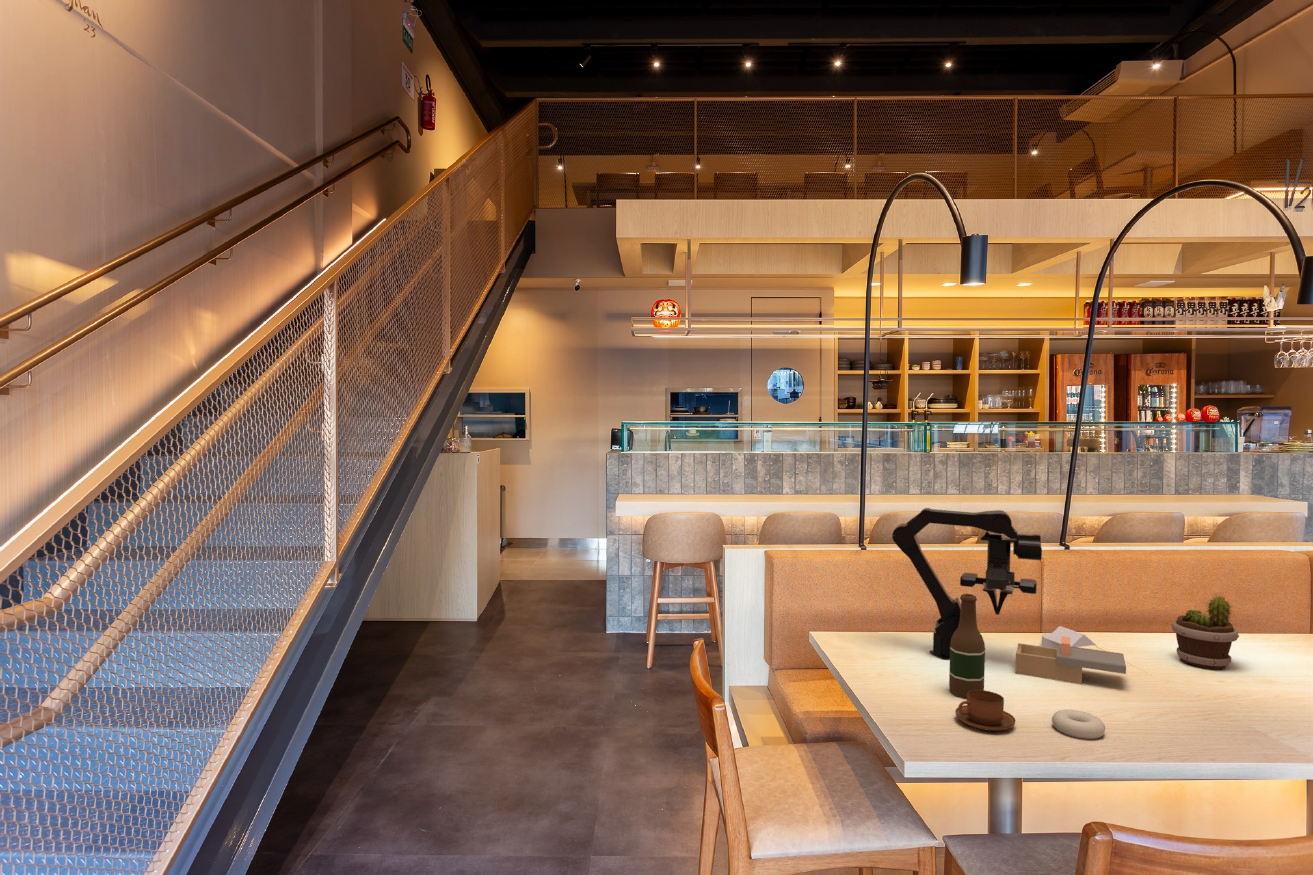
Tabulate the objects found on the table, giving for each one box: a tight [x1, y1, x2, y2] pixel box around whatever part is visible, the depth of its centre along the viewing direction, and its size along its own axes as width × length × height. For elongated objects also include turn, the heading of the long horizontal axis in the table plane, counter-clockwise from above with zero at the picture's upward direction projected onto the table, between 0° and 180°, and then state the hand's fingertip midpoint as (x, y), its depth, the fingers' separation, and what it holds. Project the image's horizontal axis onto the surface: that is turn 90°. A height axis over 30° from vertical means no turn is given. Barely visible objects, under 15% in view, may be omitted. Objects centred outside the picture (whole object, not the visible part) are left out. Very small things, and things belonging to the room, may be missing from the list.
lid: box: [1056, 636, 1127, 675], centre depth 191 cm, size 15×12×5 cm
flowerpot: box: [1170, 591, 1240, 670], centre depth 204 cm, size 14×15×20 cm
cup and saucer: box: [955, 689, 1016, 732], centre depth 163 cm, size 12×12×6 cm
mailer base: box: [1015, 642, 1083, 685], centre depth 196 cm, size 15×10×5 cm, turn 61°
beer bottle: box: [948, 593, 986, 700], centre depth 180 cm, size 8×8×24 cm
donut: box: [1051, 709, 1106, 740], centre depth 160 cm, size 10×4×10 cm
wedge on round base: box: [1041, 625, 1097, 649], centre depth 215 cm, size 9×7×13 cm
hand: (997, 614), depth 204 cm, fingers closed
